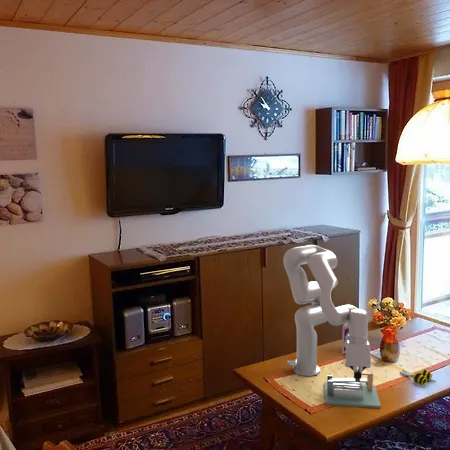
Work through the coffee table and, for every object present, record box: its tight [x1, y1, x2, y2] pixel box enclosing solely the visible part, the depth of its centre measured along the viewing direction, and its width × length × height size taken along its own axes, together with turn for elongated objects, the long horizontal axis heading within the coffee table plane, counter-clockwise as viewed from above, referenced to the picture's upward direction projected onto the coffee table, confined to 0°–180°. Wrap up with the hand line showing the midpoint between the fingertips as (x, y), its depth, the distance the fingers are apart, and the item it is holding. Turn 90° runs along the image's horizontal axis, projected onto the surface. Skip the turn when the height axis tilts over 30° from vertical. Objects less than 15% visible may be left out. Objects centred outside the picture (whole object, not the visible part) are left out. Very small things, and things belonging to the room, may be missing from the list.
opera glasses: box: [412, 367, 433, 386], centre depth 228 cm, size 10×5×5 cm, turn 133°
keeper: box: [361, 369, 374, 390], centre depth 220 cm, size 6×4×7 cm
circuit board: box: [323, 381, 381, 409], centre depth 216 cm, size 22×18×1 cm
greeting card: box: [341, 323, 349, 354], centre depth 263 cm, size 11×7×15 cm, turn 118°
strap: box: [329, 377, 368, 385], centre depth 215 cm, size 16×3×2 cm, turn 81°
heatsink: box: [326, 374, 363, 400], centre depth 216 cm, size 14×10×6 cm
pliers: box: [399, 369, 437, 389], centre depth 231 cm, size 10×2×15 cm
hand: (357, 379), depth 214 cm, fingers closed
